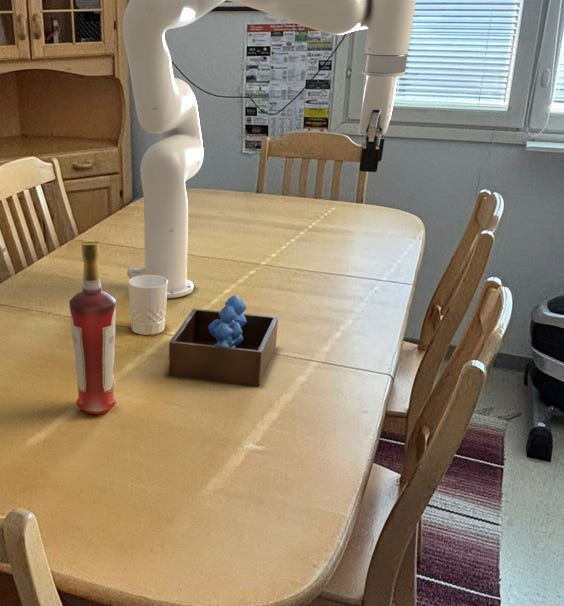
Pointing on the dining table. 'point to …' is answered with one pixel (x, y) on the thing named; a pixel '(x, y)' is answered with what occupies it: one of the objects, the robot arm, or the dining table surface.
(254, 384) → the brown wooden box
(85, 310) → the liquor
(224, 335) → the grapes
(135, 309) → the white cup
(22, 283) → the dining table surface
